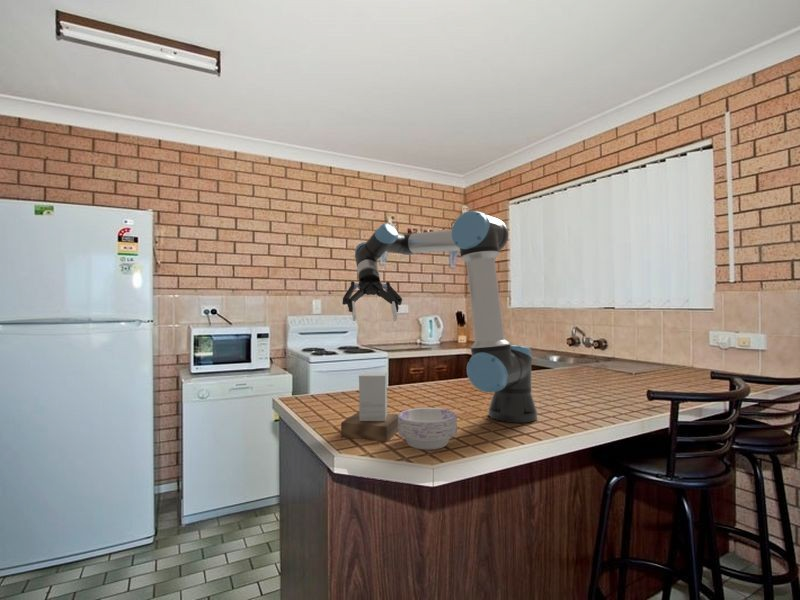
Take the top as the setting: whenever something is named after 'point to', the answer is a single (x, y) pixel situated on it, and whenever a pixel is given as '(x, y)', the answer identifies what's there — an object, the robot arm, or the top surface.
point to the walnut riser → (370, 428)
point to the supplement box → (373, 396)
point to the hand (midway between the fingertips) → (375, 318)
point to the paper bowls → (427, 427)
